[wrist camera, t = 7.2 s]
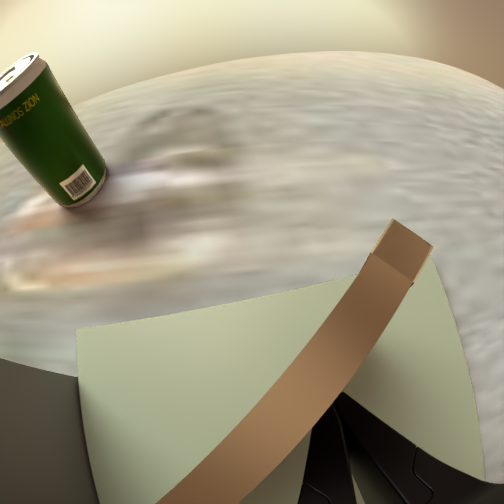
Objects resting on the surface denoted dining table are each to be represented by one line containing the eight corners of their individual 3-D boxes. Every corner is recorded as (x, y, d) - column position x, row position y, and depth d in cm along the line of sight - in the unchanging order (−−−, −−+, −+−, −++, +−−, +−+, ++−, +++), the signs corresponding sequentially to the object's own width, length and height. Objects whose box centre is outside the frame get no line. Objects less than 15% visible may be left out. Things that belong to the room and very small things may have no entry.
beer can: (120, 173, 23) (50, 51, 12) (73, 221, 21) (-21, 113, 10) (91, 152, 24) (29, 49, 14) (49, 194, 23) (-27, 99, 12)
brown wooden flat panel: (140, 550, 10) (49, 615, 2) (123, 535, 10) (24, 591, 2) (357, 327, 15) (433, 246, 7) (338, 312, 15) (392, 218, 7)
